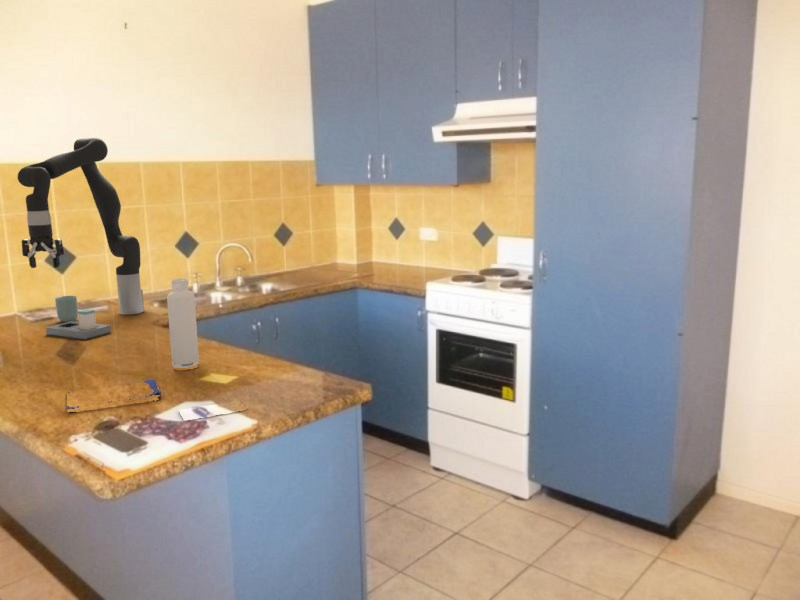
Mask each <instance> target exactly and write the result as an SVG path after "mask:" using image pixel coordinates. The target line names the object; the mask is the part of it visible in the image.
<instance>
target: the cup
mask: <svg viewBox="0 0 800 600" xmlns="http://www.w3.org/2000/svg"><path fill="white" fill-rule="evenodd" d="M54 302H55V311H56V314H57V318H58V320H59V321H60V322H62V323H66V322H70V321H77V319H78V318H79V317H78V311H79V307H78V297H77V296H76V295H61V296H57V297H55V299H54Z"/></svg>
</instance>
